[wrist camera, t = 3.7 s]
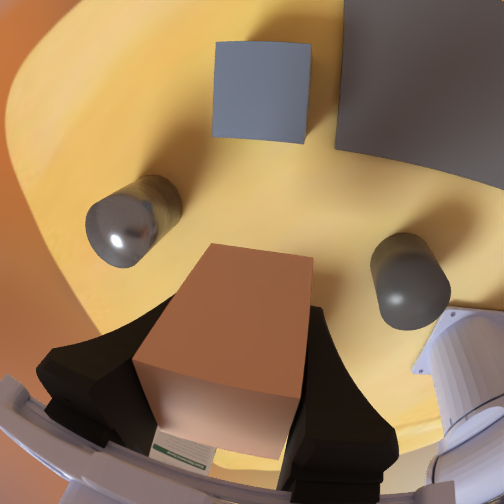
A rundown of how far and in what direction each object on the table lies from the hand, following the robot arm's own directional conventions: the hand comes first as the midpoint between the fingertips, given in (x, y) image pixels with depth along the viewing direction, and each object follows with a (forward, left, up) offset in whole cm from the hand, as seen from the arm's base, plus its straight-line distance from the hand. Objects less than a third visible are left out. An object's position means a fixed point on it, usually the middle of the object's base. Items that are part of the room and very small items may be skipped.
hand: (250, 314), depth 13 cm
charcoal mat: (-10, -13, -9) cm, 19 cm away
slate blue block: (+1, -9, -9) cm, 13 cm away
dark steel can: (+9, -1, -9) cm, 12 cm away
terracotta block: (0, 0, -2) cm, 2 cm away
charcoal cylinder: (-9, +1, -9) cm, 13 cm away
